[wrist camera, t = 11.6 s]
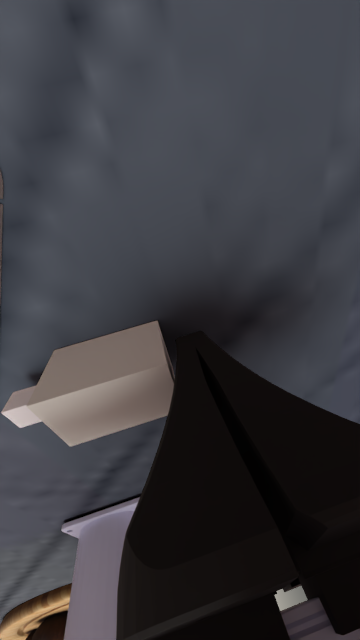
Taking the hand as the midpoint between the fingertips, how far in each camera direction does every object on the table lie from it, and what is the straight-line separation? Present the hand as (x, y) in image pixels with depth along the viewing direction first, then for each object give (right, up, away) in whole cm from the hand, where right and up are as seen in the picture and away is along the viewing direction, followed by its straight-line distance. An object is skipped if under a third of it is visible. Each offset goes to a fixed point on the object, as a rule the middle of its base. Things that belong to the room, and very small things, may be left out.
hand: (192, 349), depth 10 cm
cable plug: (-5, -1, +1) cm, 5 cm away
